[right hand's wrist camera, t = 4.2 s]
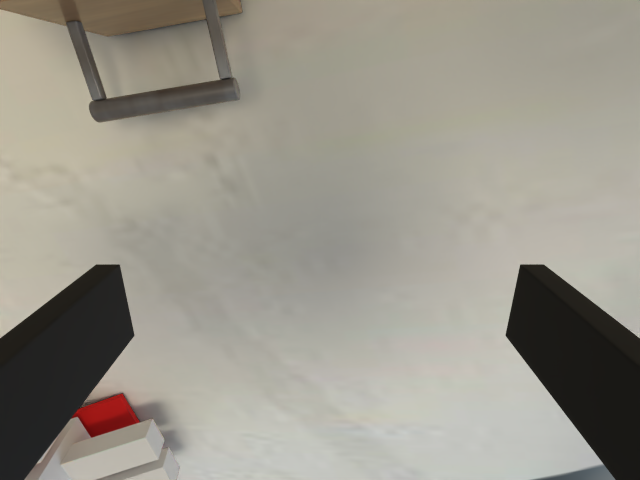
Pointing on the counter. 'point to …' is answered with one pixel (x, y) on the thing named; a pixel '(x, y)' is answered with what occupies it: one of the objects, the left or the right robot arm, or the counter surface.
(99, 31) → the drawer
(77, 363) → the right robot arm
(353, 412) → the counter surface
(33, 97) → the counter surface
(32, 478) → the toy
